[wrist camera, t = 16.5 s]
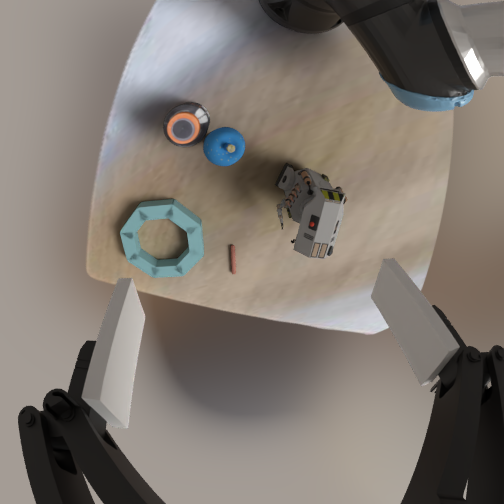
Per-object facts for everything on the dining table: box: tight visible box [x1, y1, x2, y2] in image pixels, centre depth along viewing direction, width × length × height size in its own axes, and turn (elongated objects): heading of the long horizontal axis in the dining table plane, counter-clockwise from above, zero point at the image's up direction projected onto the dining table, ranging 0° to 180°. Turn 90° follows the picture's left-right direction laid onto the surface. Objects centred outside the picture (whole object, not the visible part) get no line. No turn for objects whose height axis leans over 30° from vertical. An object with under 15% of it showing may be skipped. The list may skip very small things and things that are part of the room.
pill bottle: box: [163, 103, 210, 147], centre depth 34 cm, size 6×6×11 cm
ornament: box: [203, 127, 245, 166], centre depth 35 cm, size 5×5×15 cm
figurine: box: [275, 163, 347, 259], centre depth 42 cm, size 9×12×15 cm
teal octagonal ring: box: [120, 199, 204, 278], centre depth 49 cm, size 15×15×2 cm
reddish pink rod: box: [231, 245, 236, 274], centre depth 54 cm, size 7×1×1 cm, turn 0°
